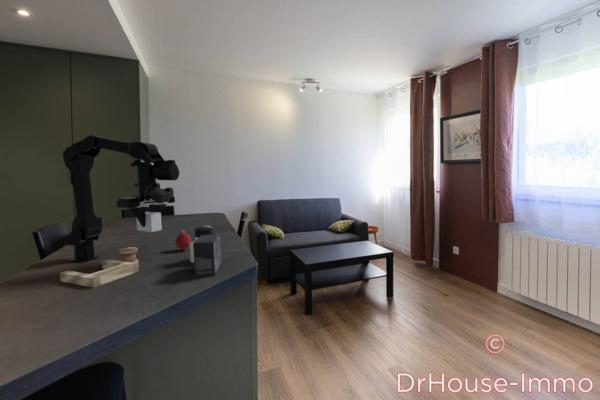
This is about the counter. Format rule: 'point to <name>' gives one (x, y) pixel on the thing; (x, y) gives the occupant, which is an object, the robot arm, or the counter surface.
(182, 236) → the onion
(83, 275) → the notched board
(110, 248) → the counter surface
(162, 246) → the counter surface
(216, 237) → the small box
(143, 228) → the tall pale grey block
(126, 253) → the wooden spool
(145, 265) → the counter surface
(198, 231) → the medicine bottle
